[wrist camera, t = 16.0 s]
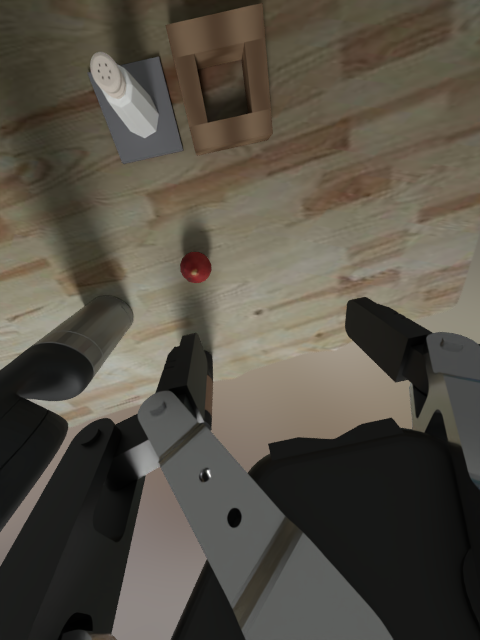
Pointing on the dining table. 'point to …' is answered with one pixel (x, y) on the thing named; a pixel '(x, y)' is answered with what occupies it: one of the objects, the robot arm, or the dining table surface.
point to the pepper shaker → (125, 95)
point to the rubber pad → (167, 131)
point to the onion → (195, 267)
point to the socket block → (215, 49)
